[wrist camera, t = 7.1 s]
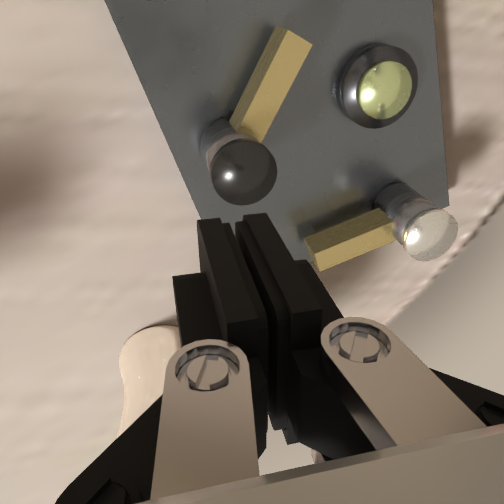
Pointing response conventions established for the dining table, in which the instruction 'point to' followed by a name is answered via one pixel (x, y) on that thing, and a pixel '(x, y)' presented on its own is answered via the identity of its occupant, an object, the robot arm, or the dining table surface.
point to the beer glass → (145, 369)
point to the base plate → (298, 100)
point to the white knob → (387, 229)
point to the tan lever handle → (253, 124)
